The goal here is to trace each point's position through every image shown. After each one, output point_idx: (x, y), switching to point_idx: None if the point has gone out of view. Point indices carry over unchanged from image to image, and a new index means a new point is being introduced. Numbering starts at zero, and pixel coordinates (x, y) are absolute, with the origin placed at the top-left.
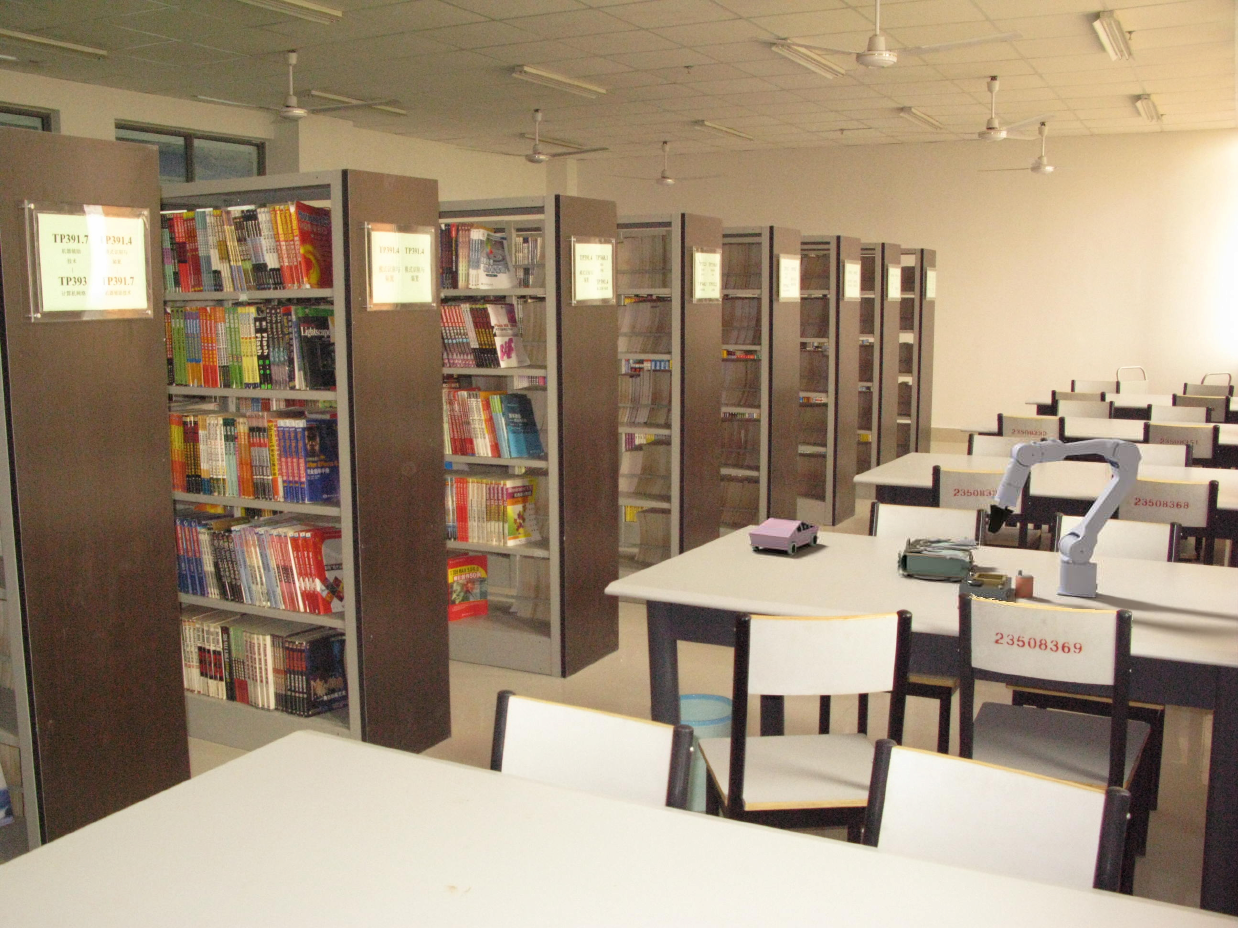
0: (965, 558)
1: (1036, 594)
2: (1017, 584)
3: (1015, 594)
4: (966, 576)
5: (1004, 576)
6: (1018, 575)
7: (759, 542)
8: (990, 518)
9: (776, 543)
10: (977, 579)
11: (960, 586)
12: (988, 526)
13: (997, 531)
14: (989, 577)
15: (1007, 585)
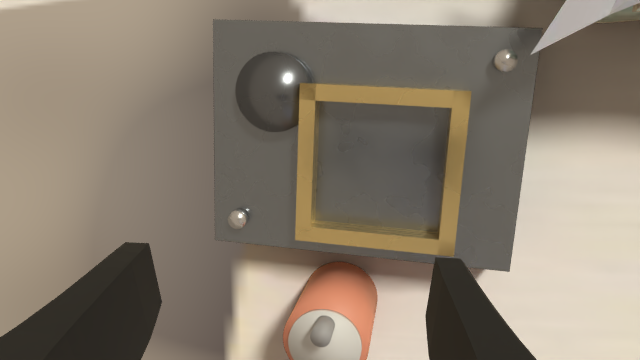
0: (608, 3)
1: (395, 346)
2: (306, 293)
3: (328, 266)
4: (451, 34)
5: (406, 242)
6: (316, 316)
7: None
8: (4, 339)
9: None
10: (300, 106)
11: (214, 26)
12: (92, 269)
13: (427, 323)
14: (444, 161)
15: (307, 247)
